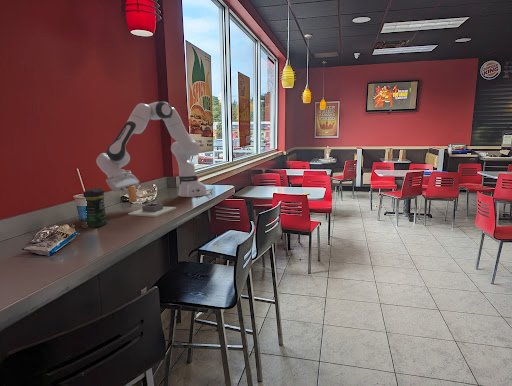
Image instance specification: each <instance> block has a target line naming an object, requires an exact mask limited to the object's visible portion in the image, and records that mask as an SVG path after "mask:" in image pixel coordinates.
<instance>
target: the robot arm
mask: <svg viewBox="0 0 512 386" xmlns="http://www.w3.org/2000/svg"><path fill="white" fill-rule="evenodd" d="M159 120H162V121H163V122H164V124H165V126H166V128H167V131H168V133H169V135H170V136H171V138H172V139H174V141H175V142H172V143H171V145H170V151H171V153H172V154H173V155H174V157H175V159H176V162H177V164H178V167H177V168H178V184H179V188H178V189H179V190H178V197H186V198H193V197H201V196H209V195H211V192H210V191H208V190H207V187H206V185H205V184H204V183H203V182H201V181H200V180H199V179H200V176H198V175H196V170H195V168H196V167H195V164H194V162H192V160H191V158H190V157H195V156H198V155H199V153H201V145H200V144H199V142H198V141H196V140H195V139H194V138H193V137H192V136H191V135H190V133H188V131H187V129H186V126H185V125H184V122H183V121H182V118H181V116H180V114H179V113H178V111H177V110H176V108H175V107H172V106H171V105H170V103H168V102H167V101H154V102H151V103H147V104H146V103H143V102H141V103H138V104H137V105H136V106H135V107H134V108H133V110H132V112H131V113H130V115H129V117H128V119H127V121H126V122H125V124H124V125H123V126H122V128H121V129H120V131H119V133H118V134H117V136H116V138H115V139H114V140H113V141H112V142H111V143H110V144H109V145H108V146H107V148H106V151H105V152H102V153H100V154H99V155H98V156H97V157H96V159H95V160H96V165H97V166H98V167H99V170H101V171H102V172H103V173H104V174H105V175H106V177H107V178H106V179H105V182H106V183H107V185H108V187H109V188H110V189H111V191H112V192H113V193H117V192H121V191H122V192H123V193H125V194H127V195H128V196H129V194H131V192H130V191H128V187H129V186H135V191H136V193H137V192H138V189H136V188H137V187H138V185H139V184H140V180H139V179H138V178H137V177H136V176H135V175H134V174H133V173H132V171H131V170H129V169H128V170H126V169H123V168H124V167H125V166H127V165H128V164H129V163H130V161H131V155H130V154H129V153H128V151H127V149H126V146H127V143H128V142H129V140H130V138H131V137H132V135H134V134H135V135H141V134H142V133H143V132H144V130H146V129H147V128H146V127H147V126H148V124H149V121H159Z"/></svg>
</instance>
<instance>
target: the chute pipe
mask: <svg viewBox="0 0 512 386" xmlns="http://www.w3.org/2000/svg"><path fill="white" fill-rule="evenodd" d="M135 188H136V187H135V186H129V187H128V189H127V190H128V191H130V192H131V194H129V195H128V200H129V201H128V202H129V203H136V202H137V195H136V194H137V192H136V191H135Z"/></svg>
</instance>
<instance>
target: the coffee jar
mask: <svg viewBox="0 0 512 386" xmlns="http://www.w3.org/2000/svg"><path fill="white" fill-rule="evenodd" d="M82 194H83V196H82V198H83V197H85V198H86V201H87V206H86V209H85V220H86V219H87V225H88V228H91V229H92V228H93V229H94V228H97V227H99V228H100V227H103V226H104V225H106V224H107V223H108V220H107V213H106V208H105V193H104V189H102V188H101V187H99V188H98V187H94V188H90V189H87V190H84V191H83V193H82ZM86 211H87V212H86ZM86 213H87V215H86ZM86 216H87V218H86ZM87 225H86V226H87Z"/></svg>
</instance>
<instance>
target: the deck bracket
mask: <svg viewBox="0 0 512 386" xmlns="http://www.w3.org/2000/svg"><path fill="white" fill-rule="evenodd" d="M141 207H142V208H141V209H137V210H134V211H132V212H128V213H127V215H128V216H134V217H135V216H137V217H147V218H148V217H150V218H157V217H159V216H161V215H164V214H167V213H169V212H172V211H174V210H176V209H177V207H176V206H164V205H163V203H153V202H152V203H148V204H144V205H143V206H141Z"/></svg>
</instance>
